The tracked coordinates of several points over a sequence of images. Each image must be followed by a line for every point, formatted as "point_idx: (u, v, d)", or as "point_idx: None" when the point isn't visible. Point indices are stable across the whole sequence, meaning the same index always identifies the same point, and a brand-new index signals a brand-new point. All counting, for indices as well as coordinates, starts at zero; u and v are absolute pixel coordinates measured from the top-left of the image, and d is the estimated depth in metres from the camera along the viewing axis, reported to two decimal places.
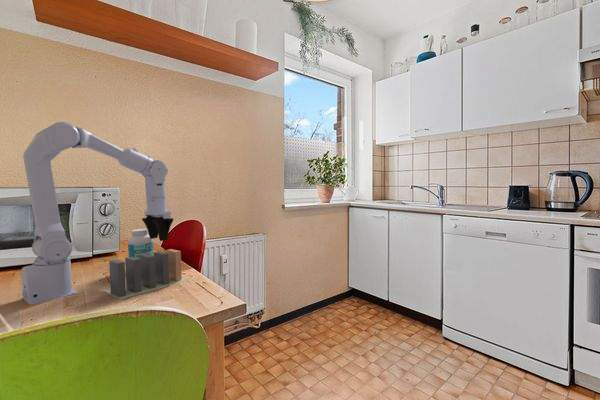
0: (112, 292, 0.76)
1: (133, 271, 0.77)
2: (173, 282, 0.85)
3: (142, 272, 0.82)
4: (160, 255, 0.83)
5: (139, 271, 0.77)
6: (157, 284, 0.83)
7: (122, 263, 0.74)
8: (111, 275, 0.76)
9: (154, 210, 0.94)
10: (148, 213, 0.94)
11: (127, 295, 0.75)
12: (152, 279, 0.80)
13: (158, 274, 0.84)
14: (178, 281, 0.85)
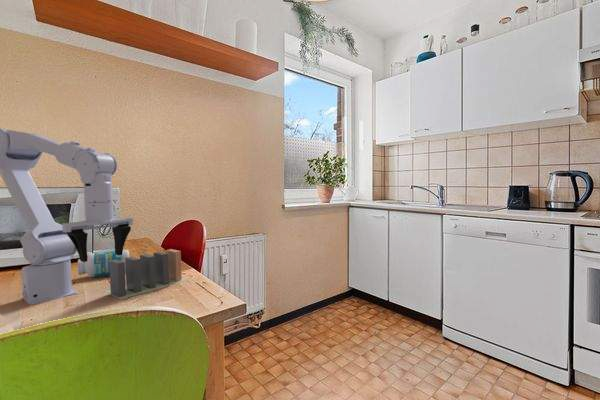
0: (112, 292, 0.76)
1: (133, 271, 0.77)
2: (173, 282, 0.85)
3: (142, 272, 0.82)
4: (160, 255, 0.83)
5: (139, 271, 0.77)
6: (157, 284, 0.83)
7: (122, 263, 0.74)
8: (111, 275, 0.76)
9: None
10: None
11: (127, 295, 0.75)
12: (152, 279, 0.80)
13: (158, 274, 0.84)
14: (178, 281, 0.85)
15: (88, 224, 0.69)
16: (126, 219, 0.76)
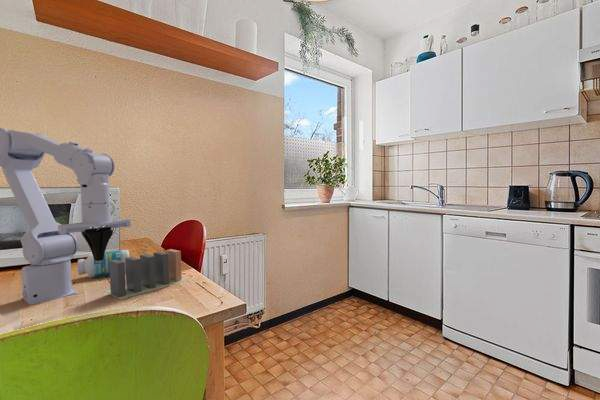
0: (112, 292, 0.76)
1: (133, 271, 0.77)
2: (173, 282, 0.85)
3: (142, 272, 0.82)
4: (160, 255, 0.83)
5: (139, 271, 0.77)
6: (157, 284, 0.83)
7: (122, 263, 0.74)
8: (111, 275, 0.76)
9: None
10: None
11: (127, 295, 0.75)
12: (152, 279, 0.80)
13: (158, 274, 0.84)
14: (178, 281, 0.85)
15: (84, 226, 0.68)
16: (123, 221, 0.75)
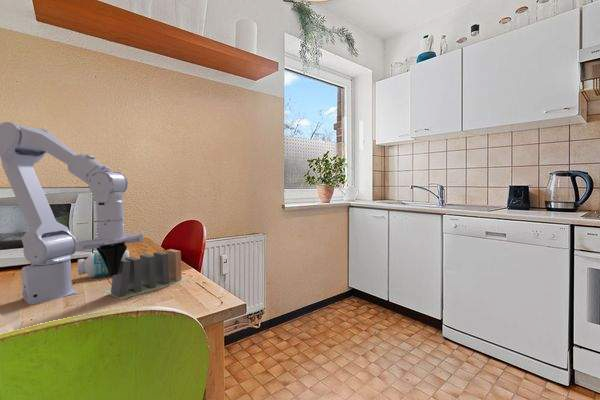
0: (112, 291, 0.76)
1: (133, 271, 0.77)
2: (173, 282, 0.85)
3: (142, 272, 0.82)
4: (160, 255, 0.83)
5: (139, 271, 0.77)
6: (157, 284, 0.83)
7: (128, 262, 0.75)
8: None
9: None
10: None
11: (127, 295, 0.75)
12: (152, 279, 0.80)
13: (158, 274, 0.84)
14: (178, 281, 0.85)
15: (100, 242, 0.70)
16: (136, 236, 0.78)
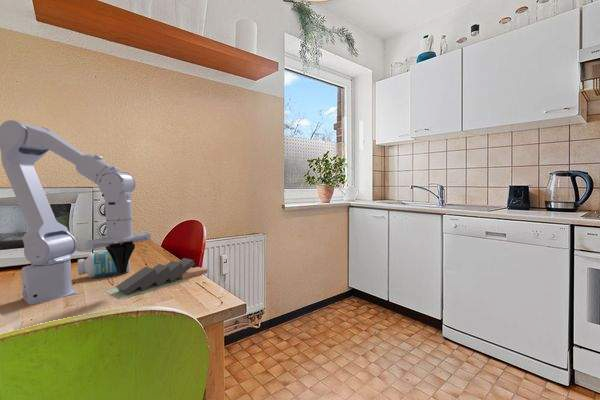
0: (119, 285, 0.77)
1: (158, 272, 0.82)
2: (173, 282, 0.85)
3: None
4: (189, 260, 0.90)
5: (160, 277, 0.82)
6: None
7: (155, 273, 0.81)
8: (135, 275, 0.80)
9: None
10: None
11: (127, 295, 0.75)
12: (164, 278, 0.83)
13: None
14: (178, 281, 0.85)
15: (109, 241, 0.72)
16: (144, 235, 0.79)
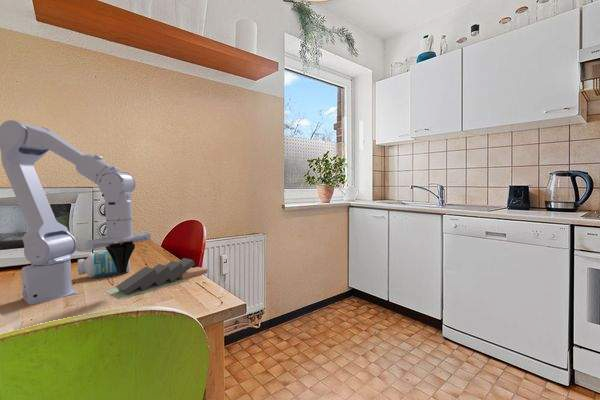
0: (119, 285, 0.77)
1: (158, 272, 0.82)
2: (173, 282, 0.85)
3: None
4: (189, 260, 0.90)
5: (160, 277, 0.82)
6: None
7: (155, 273, 0.81)
8: (135, 275, 0.80)
9: None
10: None
11: (127, 295, 0.75)
12: (164, 278, 0.83)
13: None
14: (178, 281, 0.85)
15: (109, 241, 0.72)
16: (144, 235, 0.79)
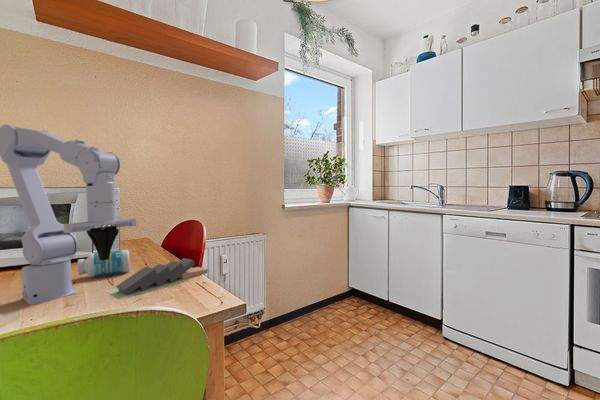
0: (119, 285, 0.77)
1: (158, 272, 0.82)
2: (173, 282, 0.85)
3: None
4: (189, 260, 0.90)
5: (160, 277, 0.82)
6: None
7: (155, 273, 0.81)
8: (135, 275, 0.80)
9: None
10: None
11: (127, 295, 0.75)
12: (164, 278, 0.83)
13: None
14: (178, 281, 0.85)
15: (90, 225, 0.67)
16: (129, 220, 0.74)
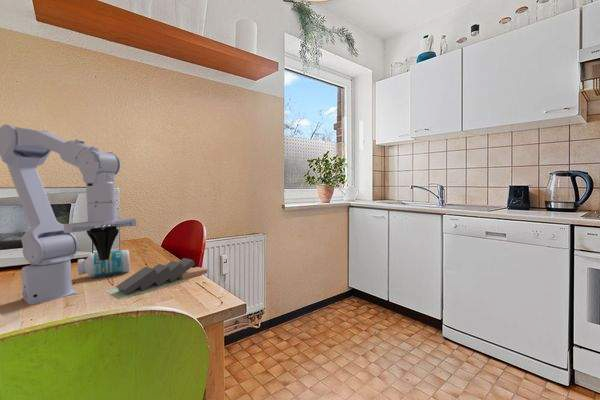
0: (119, 285, 0.77)
1: (158, 272, 0.82)
2: (173, 282, 0.85)
3: None
4: (189, 260, 0.90)
5: (160, 277, 0.82)
6: None
7: (155, 273, 0.81)
8: (135, 275, 0.80)
9: None
10: None
11: (127, 295, 0.75)
12: (164, 278, 0.83)
13: None
14: (178, 281, 0.85)
15: (90, 225, 0.67)
16: (129, 220, 0.74)
